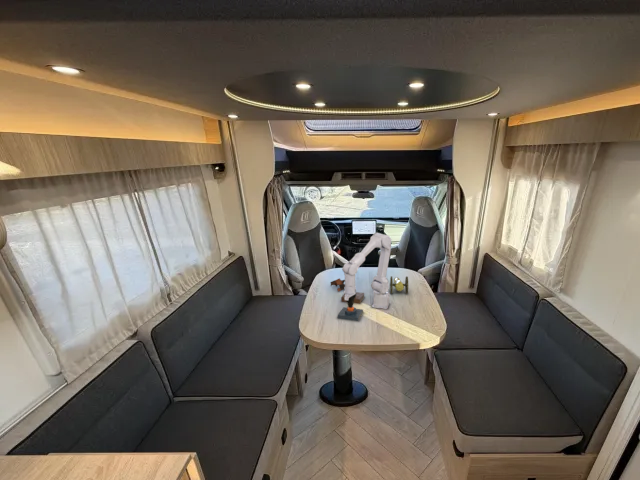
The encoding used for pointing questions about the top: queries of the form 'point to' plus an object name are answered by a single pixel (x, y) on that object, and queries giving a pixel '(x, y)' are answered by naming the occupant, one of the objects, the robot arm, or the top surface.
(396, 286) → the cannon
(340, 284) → the brown angular figurine
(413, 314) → the top surface
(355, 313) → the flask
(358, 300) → the base
